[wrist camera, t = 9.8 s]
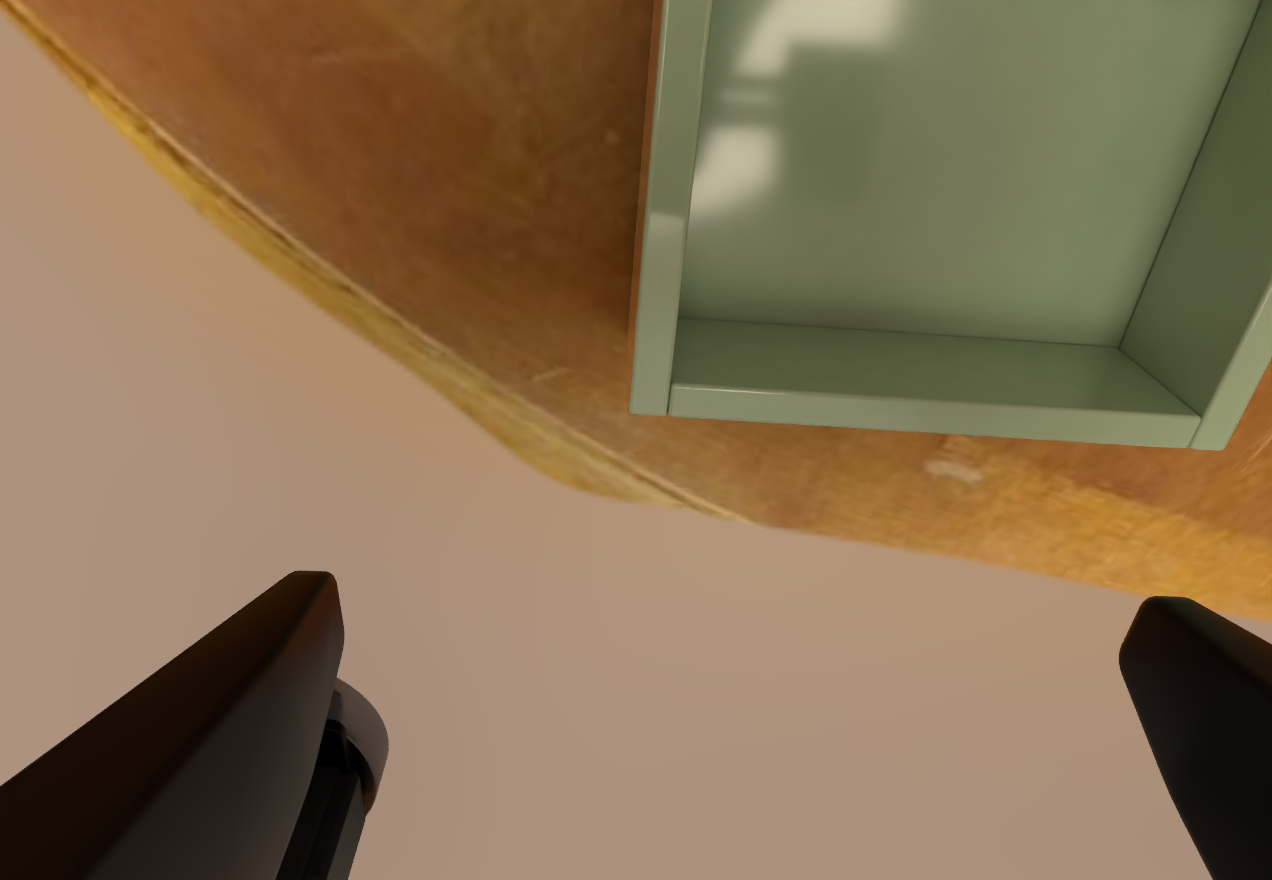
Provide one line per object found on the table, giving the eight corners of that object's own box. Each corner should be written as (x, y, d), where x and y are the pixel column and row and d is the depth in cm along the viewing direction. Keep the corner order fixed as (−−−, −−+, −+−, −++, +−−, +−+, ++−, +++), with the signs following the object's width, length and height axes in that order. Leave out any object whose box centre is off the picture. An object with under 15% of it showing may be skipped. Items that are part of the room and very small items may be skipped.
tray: (626, 336, 20) (627, 415, 17) (664, -143, 15) (676, -166, 12) (1128, 370, 21) (1225, 453, 18) (1320, -80, 16) (1505, -85, 13)
